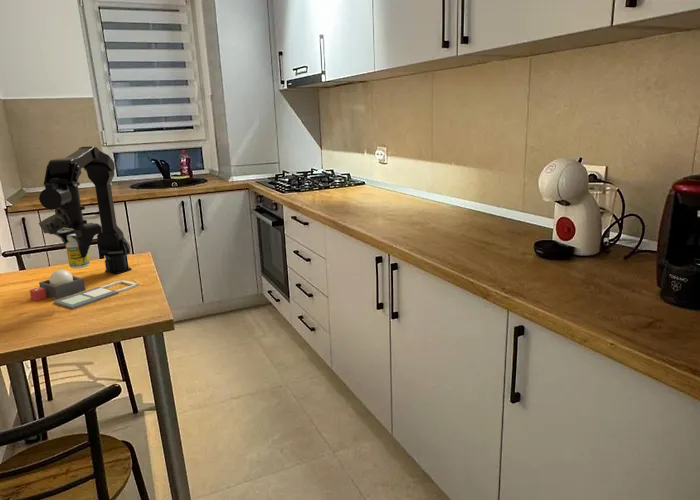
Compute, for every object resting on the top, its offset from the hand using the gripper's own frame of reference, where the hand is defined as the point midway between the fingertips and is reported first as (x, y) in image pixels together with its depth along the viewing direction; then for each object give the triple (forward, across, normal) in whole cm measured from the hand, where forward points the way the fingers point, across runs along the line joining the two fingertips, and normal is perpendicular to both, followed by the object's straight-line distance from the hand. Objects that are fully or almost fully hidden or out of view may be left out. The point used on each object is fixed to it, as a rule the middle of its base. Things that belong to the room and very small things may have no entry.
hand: (78, 256), depth 150 cm
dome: (+13, -12, +1) cm, 18 cm away
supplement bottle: (+3, 0, 0) cm, 3 cm away
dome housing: (+13, -12, -1) cm, 18 cm away
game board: (+13, 0, +5) cm, 14 cm away
